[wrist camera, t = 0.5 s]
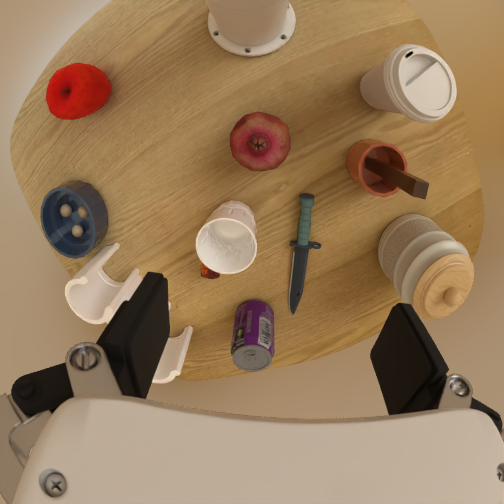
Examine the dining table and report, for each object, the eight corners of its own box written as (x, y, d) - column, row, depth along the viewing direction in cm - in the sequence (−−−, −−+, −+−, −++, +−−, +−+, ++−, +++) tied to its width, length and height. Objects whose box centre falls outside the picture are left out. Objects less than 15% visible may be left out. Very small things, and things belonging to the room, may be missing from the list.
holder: (349, 134, 38) (362, 137, 33) (394, 144, 38) (412, 149, 33) (342, 182, 41) (353, 191, 36) (386, 189, 41) (401, 200, 36)
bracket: (88, 260, 50) (55, 293, 39) (116, 236, 47) (82, 269, 36) (164, 346, 59) (149, 387, 48) (197, 332, 56) (185, 377, 45)
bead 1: (64, 202, 44) (57, 206, 42) (73, 202, 44) (66, 206, 42) (65, 214, 45) (58, 218, 43) (75, 214, 45) (67, 219, 43)
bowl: (52, 180, 42) (36, 188, 38) (106, 179, 42) (91, 187, 38) (61, 243, 48) (47, 254, 44) (112, 249, 48) (100, 262, 44)
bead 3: (82, 202, 44) (74, 206, 42) (92, 203, 44) (85, 207, 42) (83, 215, 45) (76, 219, 43) (93, 215, 45) (86, 220, 43)
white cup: (220, 248, 47) (209, 280, 38) (201, 205, 44) (185, 229, 35) (265, 234, 46) (265, 265, 37) (249, 189, 43) (244, 209, 34)
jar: (361, 257, 47) (398, 322, 31) (404, 197, 42) (464, 241, 26) (407, 287, 49) (446, 348, 34) (446, 235, 44) (501, 284, 28)
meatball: (203, 271, 49) (199, 283, 46) (202, 252, 48) (197, 263, 44) (224, 272, 49) (220, 284, 46) (223, 253, 48) (220, 265, 44)
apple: (71, 105, 36) (31, 109, 27) (94, 61, 33) (54, 53, 23) (106, 125, 38) (67, 131, 29) (131, 78, 35) (94, 71, 25)
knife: (294, 196, 41) (328, 199, 40) (294, 192, 42) (326, 195, 42) (282, 318, 52) (309, 320, 52) (283, 310, 54) (309, 313, 53)
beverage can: (232, 300, 52) (224, 346, 41) (270, 295, 51) (271, 341, 40) (240, 328, 55) (235, 375, 44) (275, 324, 54) (277, 371, 43)
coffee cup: (393, 56, 31) (444, 38, 18) (413, 112, 35) (470, 116, 22) (340, 68, 33) (377, 45, 20) (362, 126, 37) (408, 132, 24)
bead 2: (75, 222, 46) (68, 226, 43) (84, 222, 46) (78, 227, 43) (77, 233, 47) (70, 238, 45) (86, 234, 47) (80, 239, 45)
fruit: (264, 177, 42) (263, 193, 33) (221, 143, 40) (209, 151, 31) (299, 137, 39) (310, 142, 30) (256, 102, 37) (254, 96, 28)
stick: (366, 156, 39) (416, 179, 25) (376, 158, 39) (429, 183, 25) (364, 167, 40) (412, 196, 25) (374, 169, 40) (425, 199, 25)
